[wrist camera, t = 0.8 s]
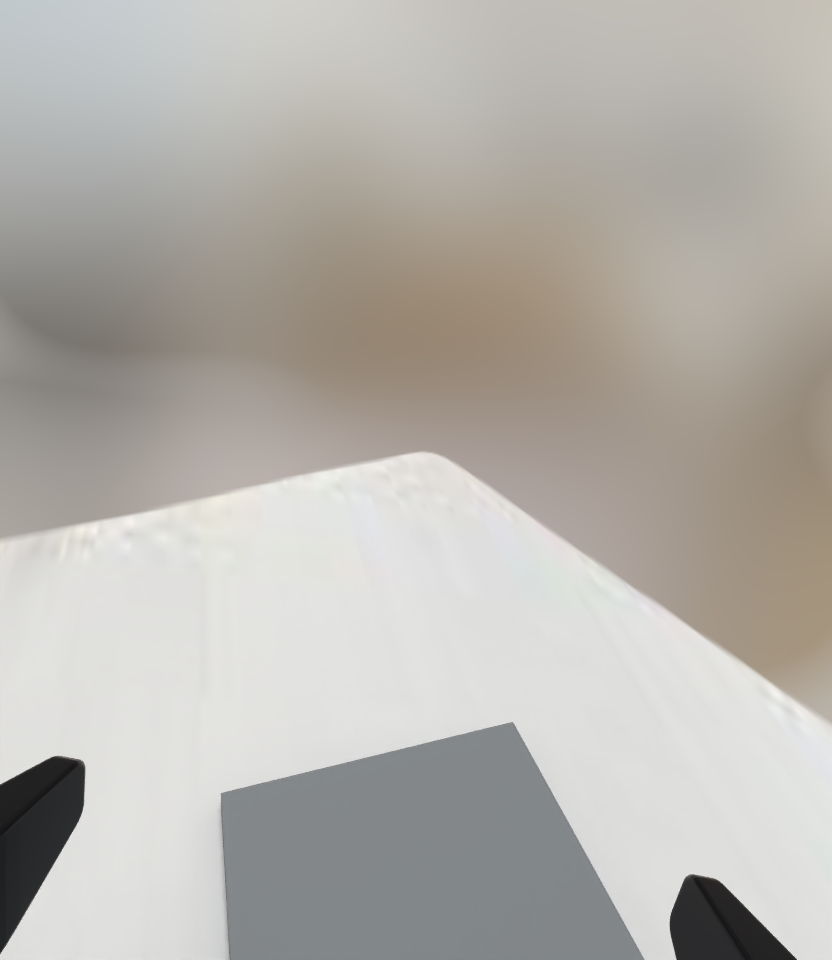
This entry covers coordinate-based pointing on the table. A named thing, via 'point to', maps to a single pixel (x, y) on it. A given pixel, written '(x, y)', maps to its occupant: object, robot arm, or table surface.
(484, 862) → the rubber mat
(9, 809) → the robot arm
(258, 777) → the table surface
